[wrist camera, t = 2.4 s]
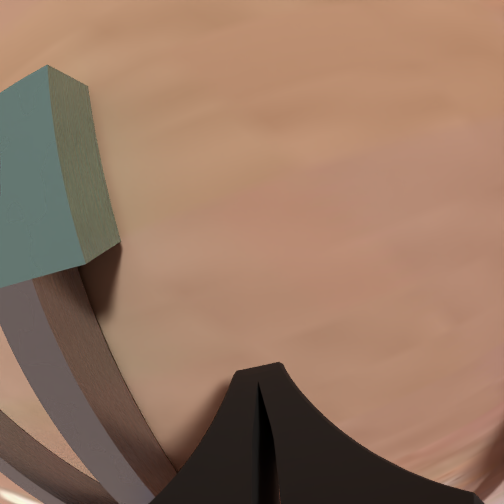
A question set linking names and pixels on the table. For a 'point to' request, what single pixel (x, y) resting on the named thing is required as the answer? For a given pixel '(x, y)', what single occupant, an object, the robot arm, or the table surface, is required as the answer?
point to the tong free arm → (66, 281)
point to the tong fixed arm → (44, 470)
